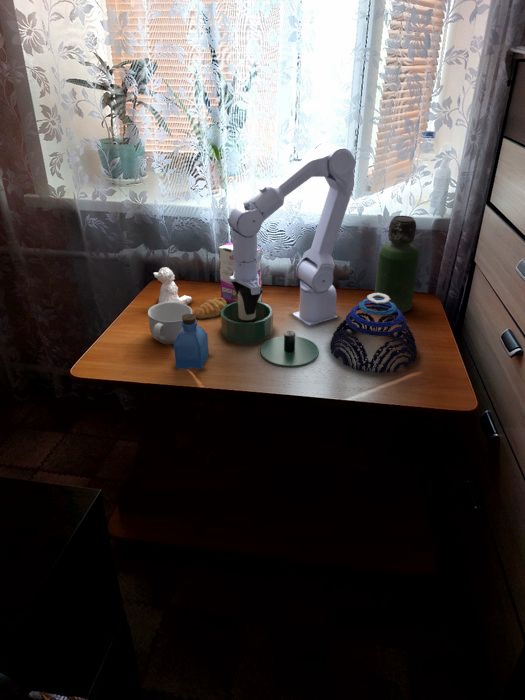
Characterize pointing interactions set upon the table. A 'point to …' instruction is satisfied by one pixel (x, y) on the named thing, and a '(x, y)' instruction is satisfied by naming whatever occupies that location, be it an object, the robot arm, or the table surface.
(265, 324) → the pot
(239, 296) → the salt shaker
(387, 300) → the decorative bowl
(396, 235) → the green bottle
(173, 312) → the teacup
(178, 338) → the perfume bottle
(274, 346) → the lid
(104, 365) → the table surface
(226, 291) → the candy bar box
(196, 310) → the pastry
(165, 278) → the seated beast figurine
